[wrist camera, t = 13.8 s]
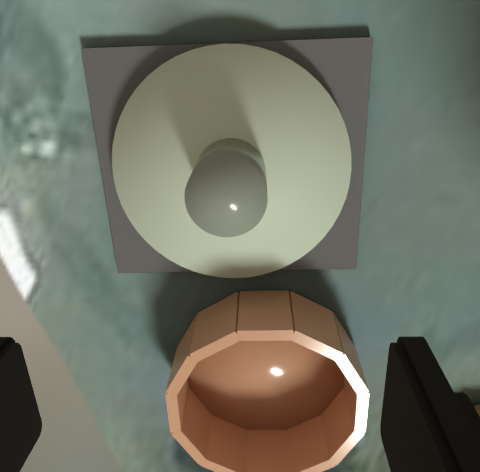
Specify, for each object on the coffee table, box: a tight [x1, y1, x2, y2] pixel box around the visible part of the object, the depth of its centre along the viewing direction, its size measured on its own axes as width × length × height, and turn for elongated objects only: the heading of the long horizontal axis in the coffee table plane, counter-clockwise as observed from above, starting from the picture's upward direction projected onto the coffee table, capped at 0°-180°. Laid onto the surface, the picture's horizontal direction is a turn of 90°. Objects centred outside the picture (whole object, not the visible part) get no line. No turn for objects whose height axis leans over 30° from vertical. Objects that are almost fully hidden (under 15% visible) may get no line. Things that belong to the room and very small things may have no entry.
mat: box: [82, 37, 373, 273], centre depth 30 cm, size 17×15×1 cm
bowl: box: [165, 290, 369, 472], centre depth 34 cm, size 14×14×5 cm
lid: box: [112, 43, 352, 278], centre depth 27 cm, size 15×15×6 cm
